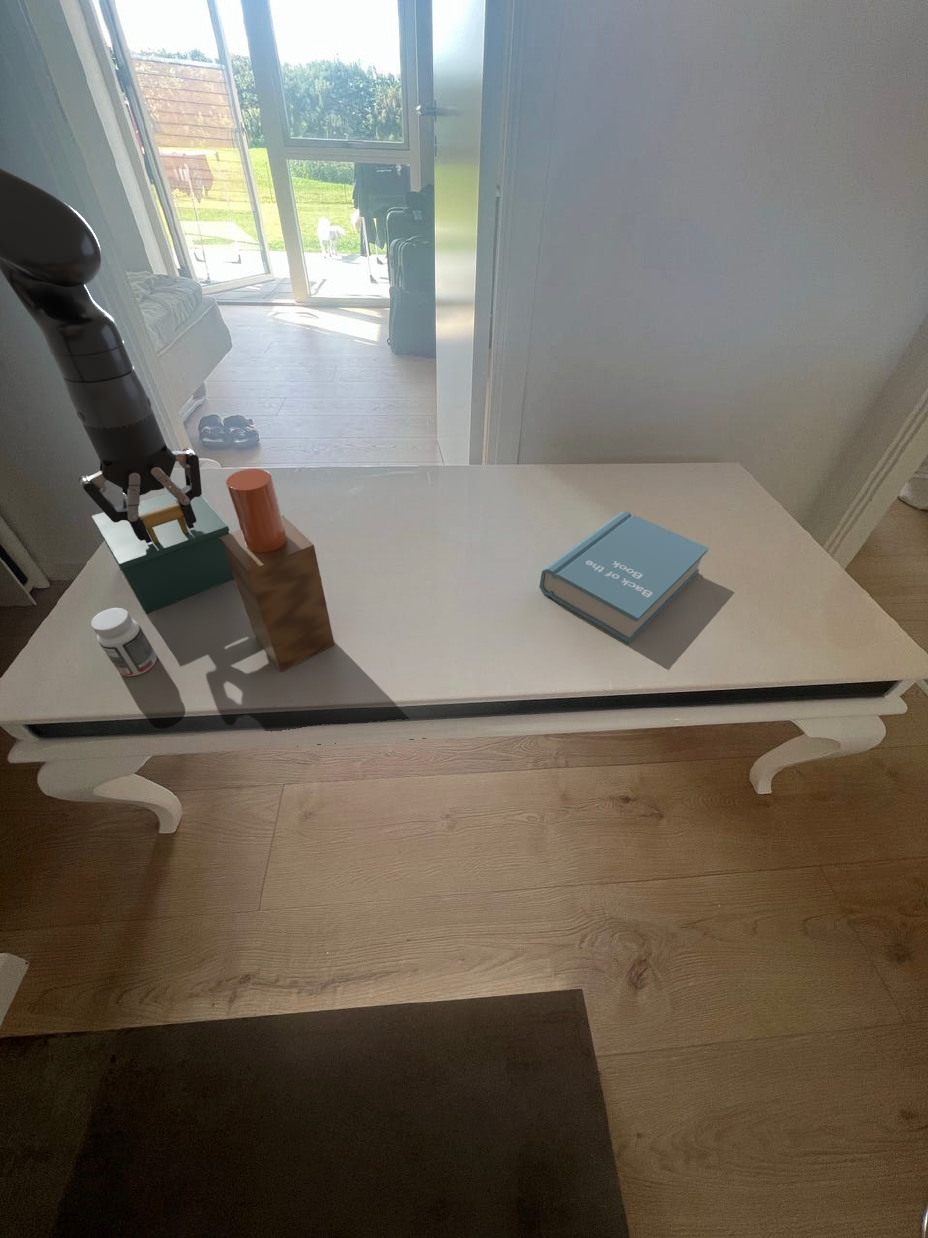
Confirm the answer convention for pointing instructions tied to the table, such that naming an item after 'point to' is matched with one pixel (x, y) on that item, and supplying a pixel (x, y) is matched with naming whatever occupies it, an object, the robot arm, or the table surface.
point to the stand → (282, 596)
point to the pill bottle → (123, 641)
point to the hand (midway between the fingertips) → (168, 532)
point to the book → (623, 574)
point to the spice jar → (257, 509)
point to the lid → (159, 529)
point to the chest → (178, 573)
